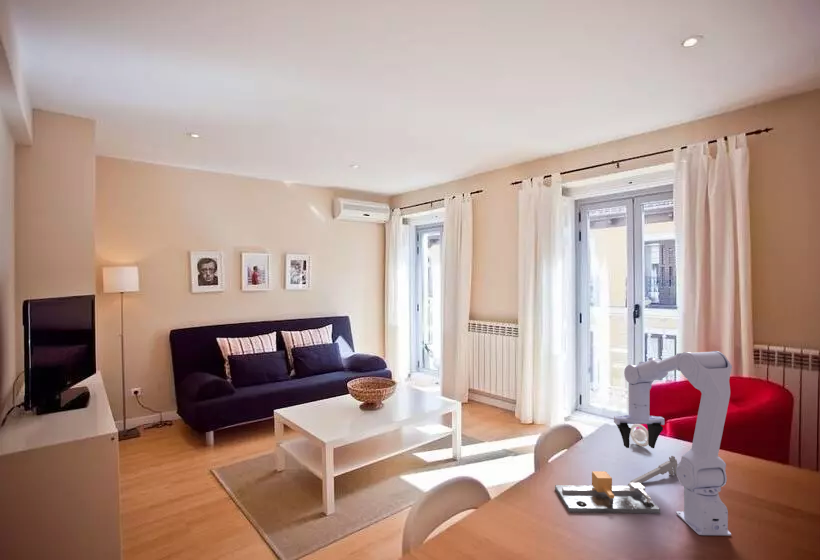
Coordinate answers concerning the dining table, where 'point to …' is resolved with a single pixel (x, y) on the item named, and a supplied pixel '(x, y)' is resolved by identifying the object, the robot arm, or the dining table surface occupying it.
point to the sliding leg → (603, 483)
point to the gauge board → (606, 499)
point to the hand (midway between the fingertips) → (638, 446)
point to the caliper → (659, 471)
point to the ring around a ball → (639, 435)
